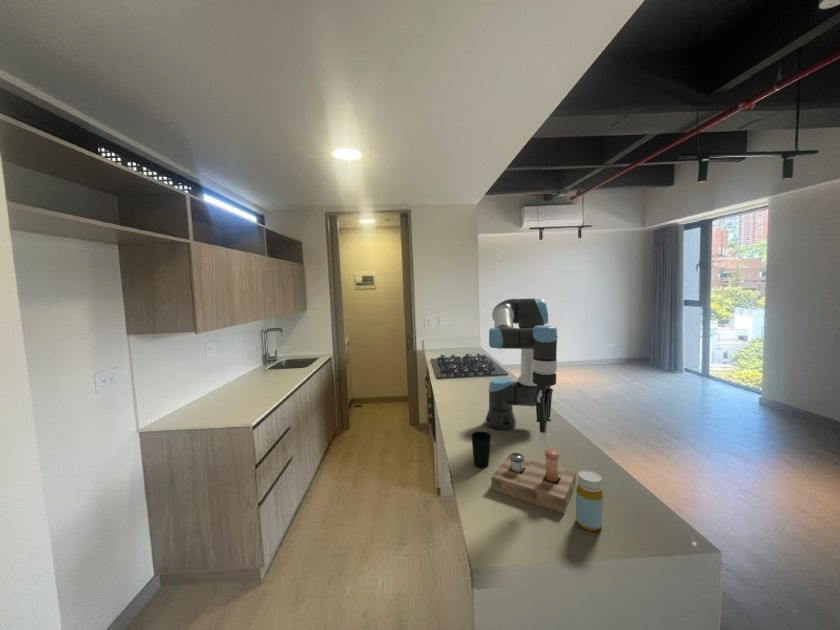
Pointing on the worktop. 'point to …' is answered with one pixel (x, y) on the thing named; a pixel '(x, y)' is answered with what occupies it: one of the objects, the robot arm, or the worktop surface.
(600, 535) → the worktop surface
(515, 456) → the grey plug
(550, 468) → the terracotta plug
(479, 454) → the cup
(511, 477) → the block
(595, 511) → the bottle
